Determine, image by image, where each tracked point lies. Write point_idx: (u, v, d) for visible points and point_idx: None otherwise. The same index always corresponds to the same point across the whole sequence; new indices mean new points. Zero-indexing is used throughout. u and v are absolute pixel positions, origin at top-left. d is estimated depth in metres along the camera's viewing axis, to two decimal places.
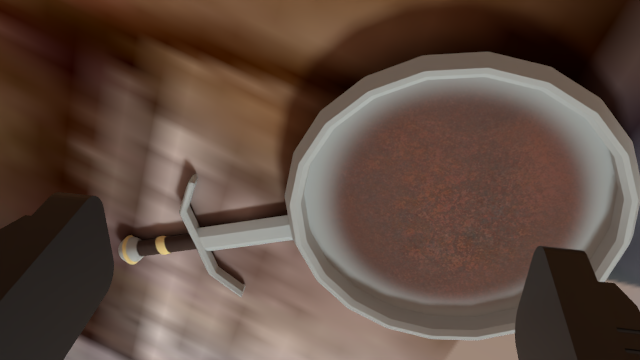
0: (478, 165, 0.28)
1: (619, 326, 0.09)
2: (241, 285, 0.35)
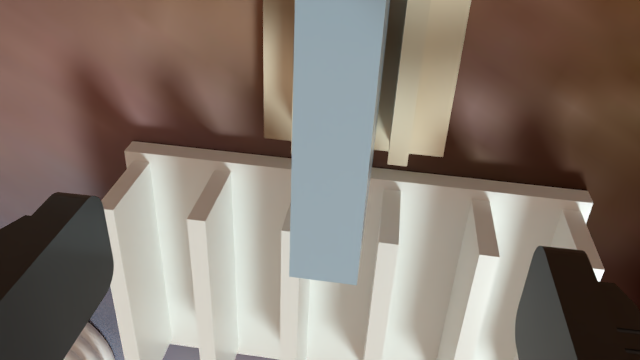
0: None
1: (619, 326, 0.09)
2: None
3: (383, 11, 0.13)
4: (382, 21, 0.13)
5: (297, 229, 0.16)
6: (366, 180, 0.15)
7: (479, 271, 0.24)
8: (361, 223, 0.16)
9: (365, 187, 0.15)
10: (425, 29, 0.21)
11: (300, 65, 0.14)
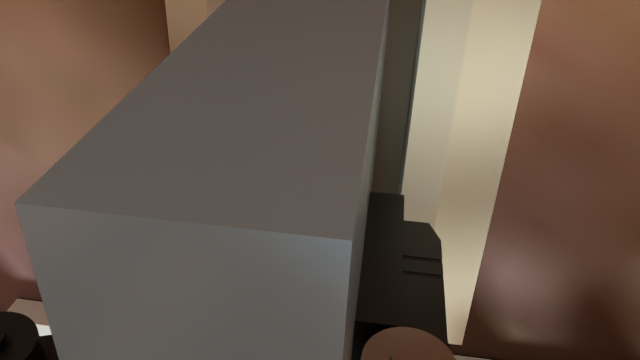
0: None
1: (418, 256, 0.10)
2: None
3: None
4: None
5: None
6: None
7: None
8: None
9: None
10: (437, 200, 0.12)
11: None
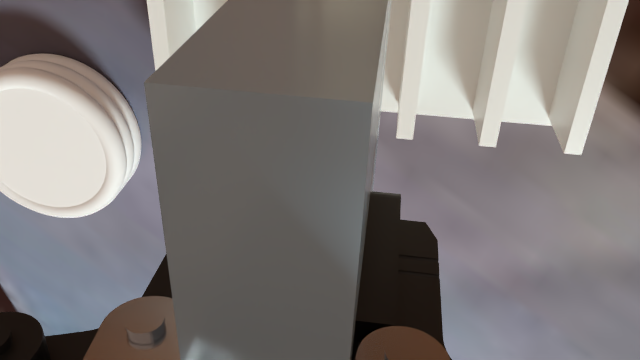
0: None
1: (414, 255, 0.10)
2: None
3: (353, 281, 0.06)
4: (352, 298, 0.06)
5: None
6: None
7: None
8: None
9: None
10: None
11: (192, 356, 0.07)
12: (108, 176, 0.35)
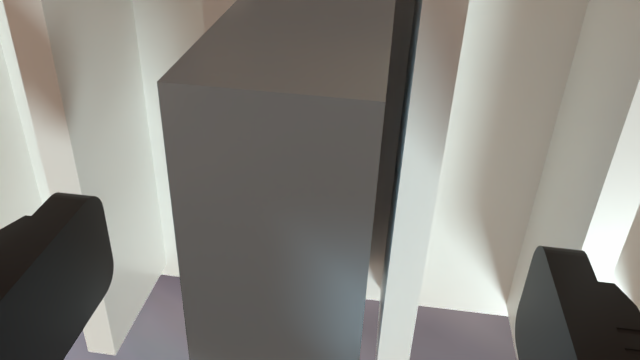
0: None
1: (619, 326, 0.09)
2: None
3: (364, 280, 0.06)
4: (362, 297, 0.06)
5: None
6: None
7: None
8: None
9: None
10: None
11: (202, 355, 0.07)
12: None
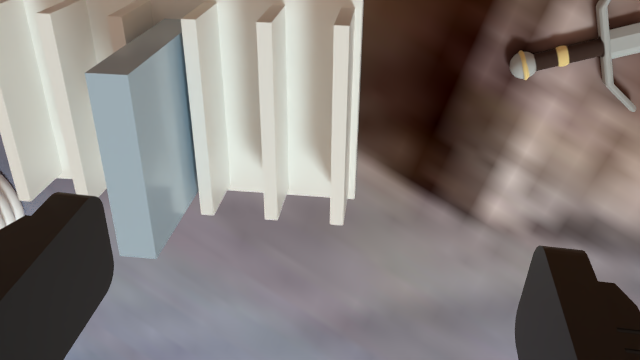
0: None
1: (619, 326, 0.09)
2: None
3: (133, 116, 0.27)
4: (134, 121, 0.27)
5: (118, 228, 0.30)
6: (146, 199, 0.29)
7: (259, 38, 0.31)
8: (150, 222, 0.30)
9: (147, 203, 0.29)
10: None
11: (101, 142, 0.28)
12: None
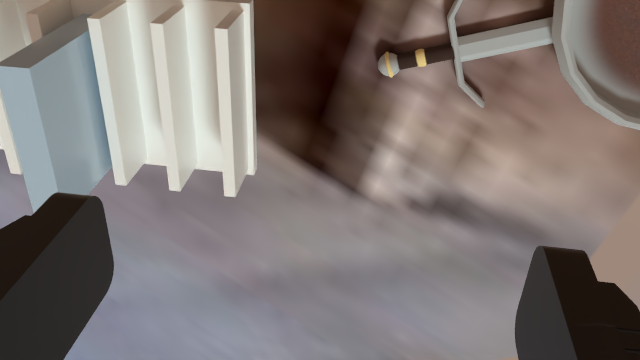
0: None
1: (619, 326, 0.09)
2: (481, 99, 0.40)
3: (36, 102, 0.33)
4: (37, 106, 0.33)
5: (31, 194, 0.36)
6: (52, 170, 0.35)
7: (154, 37, 0.36)
8: (57, 190, 0.36)
9: (53, 174, 0.35)
10: None
11: (12, 123, 0.33)
12: None
